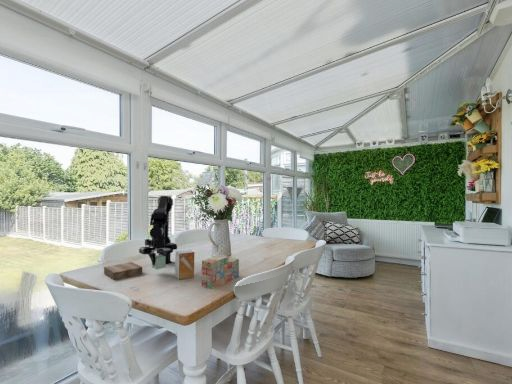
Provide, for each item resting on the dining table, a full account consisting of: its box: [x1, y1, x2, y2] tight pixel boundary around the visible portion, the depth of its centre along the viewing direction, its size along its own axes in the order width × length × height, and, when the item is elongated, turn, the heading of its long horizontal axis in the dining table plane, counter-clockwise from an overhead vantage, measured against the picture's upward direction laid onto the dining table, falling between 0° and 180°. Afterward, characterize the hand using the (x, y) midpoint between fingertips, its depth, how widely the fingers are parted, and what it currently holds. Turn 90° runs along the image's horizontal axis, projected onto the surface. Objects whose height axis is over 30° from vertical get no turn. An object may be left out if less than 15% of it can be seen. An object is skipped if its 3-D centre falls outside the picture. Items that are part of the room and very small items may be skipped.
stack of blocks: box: [201, 254, 240, 290], centre depth 127 cm, size 21×6×12 cm, turn 148°
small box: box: [174, 249, 196, 280], centre depth 133 cm, size 8×6×13 cm
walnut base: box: [103, 261, 143, 281], centre depth 136 cm, size 14×14×4 cm
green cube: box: [151, 254, 166, 270], centre depth 137 cm, size 5×5×6 cm
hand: (158, 264), depth 137 cm, fingers closed on green cube, 5 cm apart
